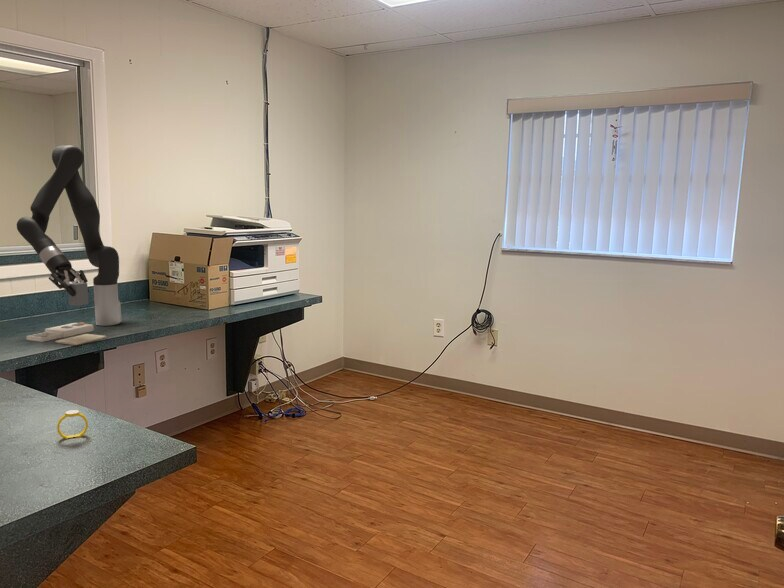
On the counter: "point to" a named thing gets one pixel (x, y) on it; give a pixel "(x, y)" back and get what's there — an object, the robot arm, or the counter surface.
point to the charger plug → (79, 294)
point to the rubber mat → (80, 339)
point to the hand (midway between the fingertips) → (80, 293)
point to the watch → (72, 414)
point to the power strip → (61, 332)
